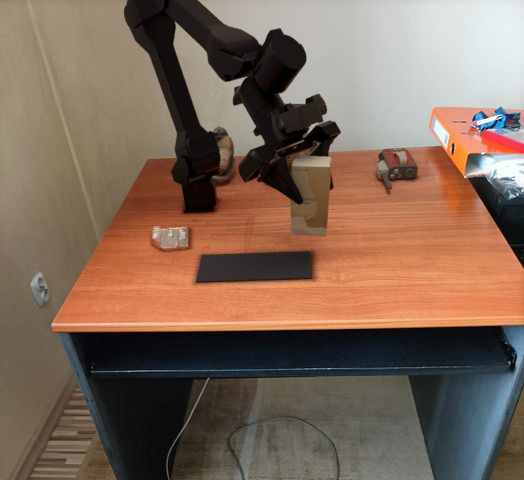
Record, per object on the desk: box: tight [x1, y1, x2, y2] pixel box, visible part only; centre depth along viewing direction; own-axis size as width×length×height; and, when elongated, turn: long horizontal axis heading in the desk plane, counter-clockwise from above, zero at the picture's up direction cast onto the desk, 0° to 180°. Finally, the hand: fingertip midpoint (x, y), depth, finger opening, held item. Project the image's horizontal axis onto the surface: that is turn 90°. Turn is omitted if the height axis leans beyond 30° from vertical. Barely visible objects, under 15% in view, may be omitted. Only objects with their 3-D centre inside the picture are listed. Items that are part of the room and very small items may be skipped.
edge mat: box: [195, 250, 313, 284], centre depth 92 cm, size 20×9×1 cm, turn 88°
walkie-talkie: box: [375, 147, 419, 191], centre depth 117 cm, size 9×4×20 cm
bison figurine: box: [212, 125, 236, 183], centre depth 121 cm, size 12×7×10 cm, turn 176°
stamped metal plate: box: [151, 225, 190, 252], centre depth 101 cm, size 8×7×2 cm
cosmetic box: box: [290, 156, 333, 237], centre depth 85 cm, size 6×4×12 cm
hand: (316, 196), depth 84 cm, fingers closed on cosmetic box, 7 cm apart
